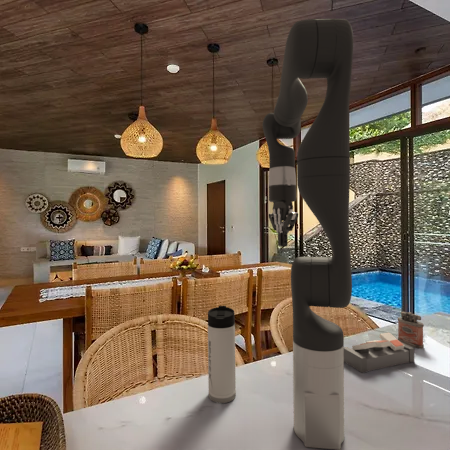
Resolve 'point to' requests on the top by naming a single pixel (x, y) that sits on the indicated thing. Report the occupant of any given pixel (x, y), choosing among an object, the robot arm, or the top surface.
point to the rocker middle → (381, 343)
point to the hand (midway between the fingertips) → (282, 246)
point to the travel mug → (221, 354)
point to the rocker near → (364, 346)
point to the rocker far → (392, 341)
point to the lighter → (410, 330)
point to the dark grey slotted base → (377, 357)
